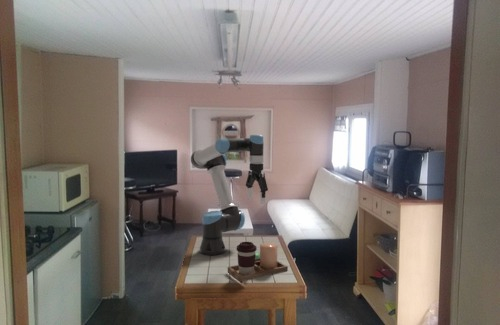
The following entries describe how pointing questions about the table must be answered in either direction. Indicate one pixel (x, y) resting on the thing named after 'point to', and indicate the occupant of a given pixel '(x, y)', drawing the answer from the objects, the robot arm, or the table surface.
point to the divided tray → (255, 271)
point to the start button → (257, 255)
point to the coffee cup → (246, 257)
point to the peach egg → (268, 256)
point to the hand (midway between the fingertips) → (256, 201)
